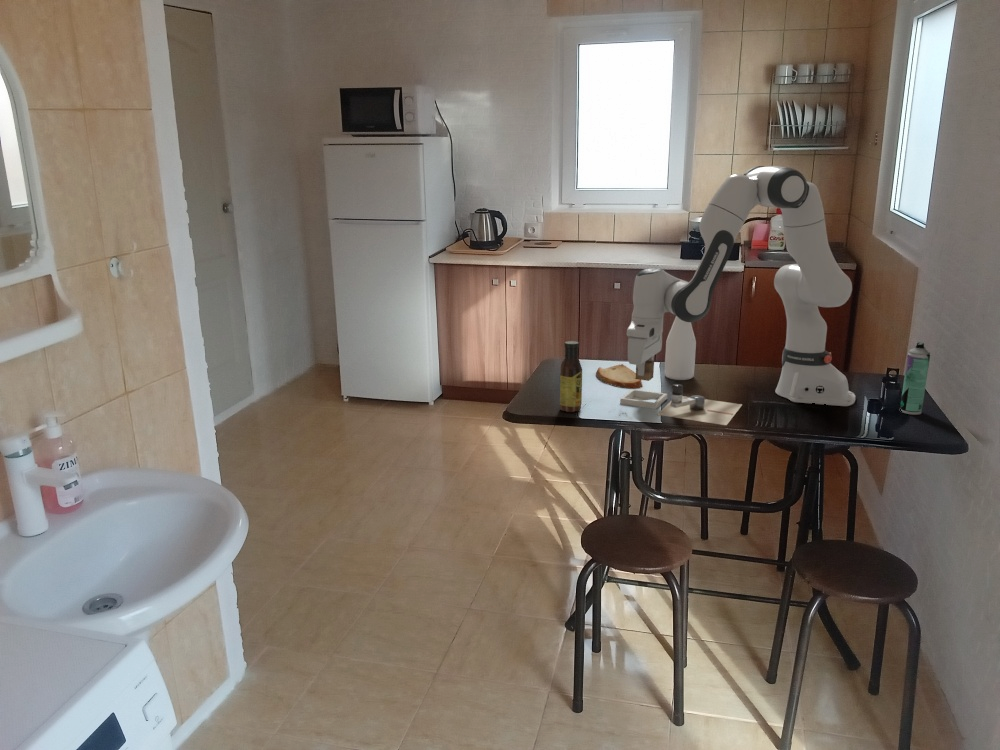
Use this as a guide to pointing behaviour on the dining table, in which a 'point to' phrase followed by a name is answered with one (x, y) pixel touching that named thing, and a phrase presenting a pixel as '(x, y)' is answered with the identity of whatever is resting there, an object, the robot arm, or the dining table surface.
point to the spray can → (915, 380)
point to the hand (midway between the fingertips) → (644, 372)
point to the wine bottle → (680, 351)
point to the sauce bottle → (571, 379)
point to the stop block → (648, 373)
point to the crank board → (704, 412)
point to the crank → (693, 401)
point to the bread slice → (619, 376)
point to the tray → (643, 398)
